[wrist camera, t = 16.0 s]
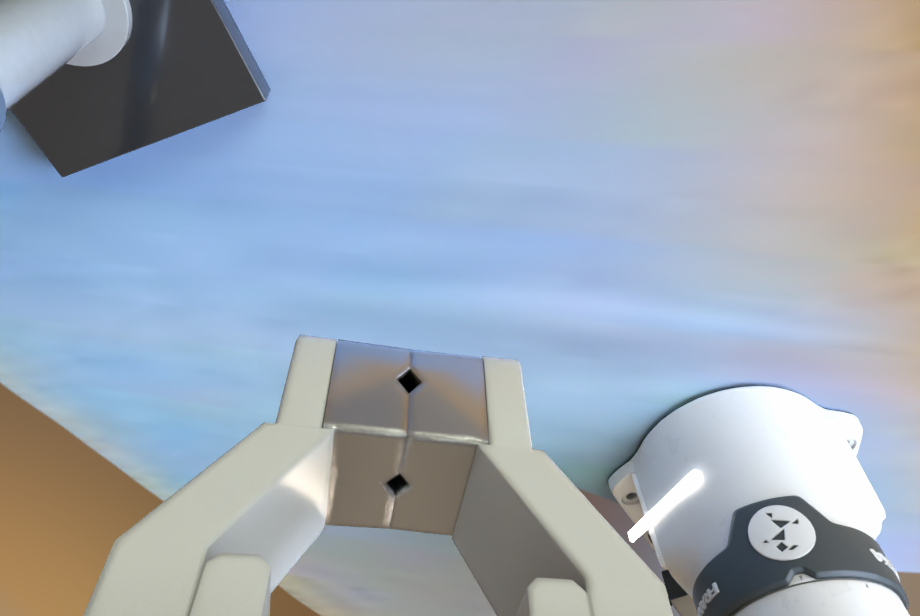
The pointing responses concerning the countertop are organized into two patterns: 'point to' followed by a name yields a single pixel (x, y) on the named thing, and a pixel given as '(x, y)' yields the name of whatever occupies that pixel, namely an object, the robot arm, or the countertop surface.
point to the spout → (2, 109)
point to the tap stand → (120, 73)
